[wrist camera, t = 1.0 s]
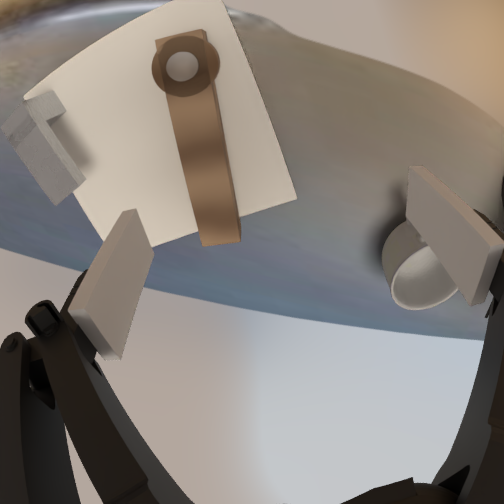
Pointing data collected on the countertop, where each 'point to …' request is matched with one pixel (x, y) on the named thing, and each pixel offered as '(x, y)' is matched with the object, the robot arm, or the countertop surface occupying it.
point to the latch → (199, 131)
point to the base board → (160, 125)
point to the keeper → (43, 145)
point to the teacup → (414, 270)
